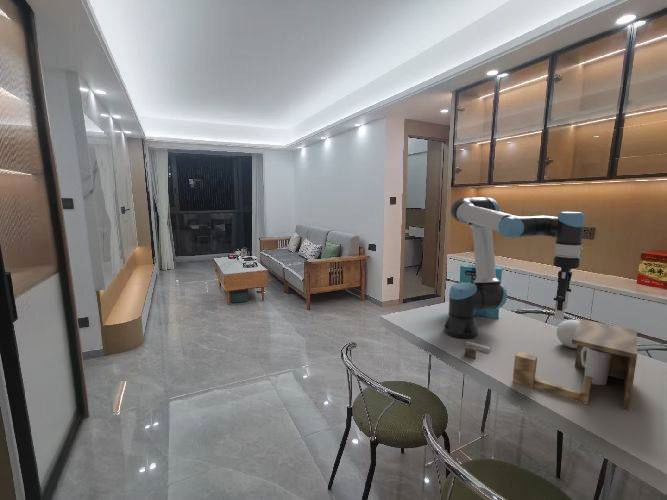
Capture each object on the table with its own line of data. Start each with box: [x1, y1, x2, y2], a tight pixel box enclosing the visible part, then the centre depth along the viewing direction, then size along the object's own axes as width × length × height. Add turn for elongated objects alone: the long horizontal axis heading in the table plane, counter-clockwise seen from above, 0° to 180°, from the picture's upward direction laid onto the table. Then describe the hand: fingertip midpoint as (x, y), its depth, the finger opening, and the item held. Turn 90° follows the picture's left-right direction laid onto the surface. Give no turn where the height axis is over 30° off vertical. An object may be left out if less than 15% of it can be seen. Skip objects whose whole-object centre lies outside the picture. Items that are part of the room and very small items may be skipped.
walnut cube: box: [464, 344, 477, 360], centre depth 136 cm, size 4×4×4 cm
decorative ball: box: [556, 319, 580, 349], centre depth 143 cm, size 12×12×12 cm
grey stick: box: [465, 340, 492, 354], centre depth 143 cm, size 10×2×2 cm, turn 47°
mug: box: [581, 347, 612, 386], centre depth 119 cm, size 10×7×12 cm, turn 7°
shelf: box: [572, 318, 638, 412], centre depth 114 cm, size 16×24×18 cm, turn 139°
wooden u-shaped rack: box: [512, 350, 593, 405], centre depth 115 cm, size 21×14×10 cm, turn 49°
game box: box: [459, 263, 503, 320], centre depth 181 cm, size 20×6×27 cm, turn 66°
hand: (560, 313), depth 122 cm, fingers open, 13 cm apart
